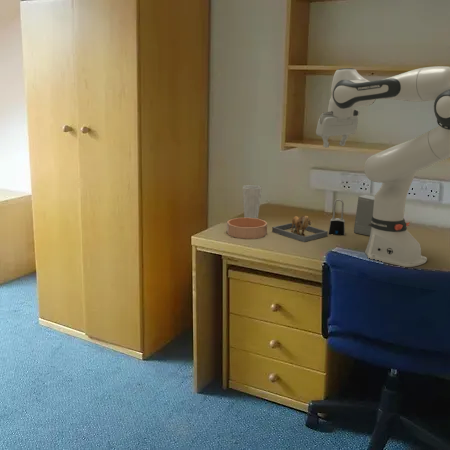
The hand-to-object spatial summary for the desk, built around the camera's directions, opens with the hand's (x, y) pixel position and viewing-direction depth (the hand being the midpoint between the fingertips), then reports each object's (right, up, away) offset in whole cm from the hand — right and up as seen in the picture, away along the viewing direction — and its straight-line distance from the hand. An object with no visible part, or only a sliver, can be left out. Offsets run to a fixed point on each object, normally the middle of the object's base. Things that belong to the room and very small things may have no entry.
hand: (334, 146), depth 228 cm
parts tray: (-12, -35, +15) cm, 39 cm away
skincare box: (+17, -35, +18) cm, 42 cm away
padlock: (+4, -35, +16) cm, 39 cm away
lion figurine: (-12, -35, +15) cm, 40 cm away
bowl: (-34, -34, +15) cm, 50 cm away
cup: (-31, -29, +34) cm, 55 cm away
